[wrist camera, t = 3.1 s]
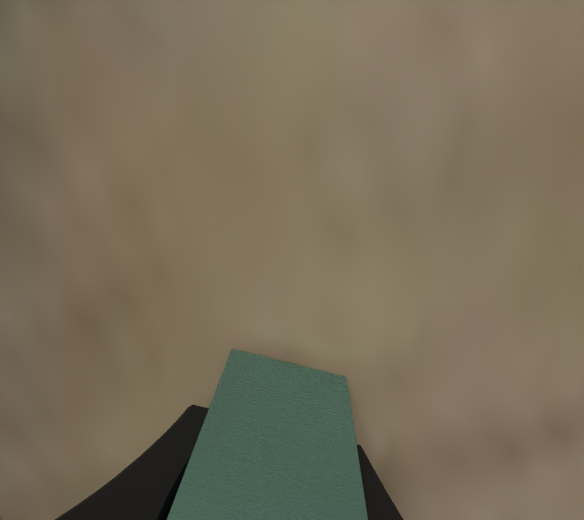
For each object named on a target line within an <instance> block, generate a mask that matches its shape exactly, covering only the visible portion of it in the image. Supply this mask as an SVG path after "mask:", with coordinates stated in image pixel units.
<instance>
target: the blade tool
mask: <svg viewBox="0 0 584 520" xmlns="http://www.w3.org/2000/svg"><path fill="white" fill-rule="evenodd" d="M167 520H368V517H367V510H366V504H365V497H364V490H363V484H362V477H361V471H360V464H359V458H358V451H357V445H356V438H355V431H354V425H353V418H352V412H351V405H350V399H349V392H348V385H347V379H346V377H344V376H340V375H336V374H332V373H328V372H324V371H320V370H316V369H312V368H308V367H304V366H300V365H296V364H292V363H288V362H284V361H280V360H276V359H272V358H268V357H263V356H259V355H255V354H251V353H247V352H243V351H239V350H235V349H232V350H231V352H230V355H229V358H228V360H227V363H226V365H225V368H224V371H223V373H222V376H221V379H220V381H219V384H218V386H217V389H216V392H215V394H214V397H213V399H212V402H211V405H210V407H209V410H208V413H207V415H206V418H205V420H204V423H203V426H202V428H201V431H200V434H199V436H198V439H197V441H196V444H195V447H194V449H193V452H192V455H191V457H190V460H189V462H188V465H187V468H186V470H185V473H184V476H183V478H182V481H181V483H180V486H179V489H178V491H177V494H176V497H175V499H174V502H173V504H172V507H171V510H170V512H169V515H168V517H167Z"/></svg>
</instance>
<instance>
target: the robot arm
mask: <svg viewBox="0 0 584 520" xmlns="http://www.w3.org/2000/svg"><path fill="white" fill-rule="evenodd" d="M208 410H209V409H208V408H204V407H200V406H196V405H192V406H190V407H188V408H187V409H186V411H185V412H184V413H183V414H182V415H181V416H180V418H179V419H178V420H177V421H176V422H175V423H174V424H173V425H172V426H171V427H170V428H169V429H168V430H167V431H166V432H165V433H164V434H163V435H162V436H161V437H160V438H159V439H158V440H157V441H156V442H155V443H154V444H153V445H152V446H151V447H150V448H149V449H147V450H146V451H145V452H144V453H143V454H142V455H141V456H140V457H139V458H137V459H136V460H135V461H134V462H133V463H131V464H130V465H129V466H128V467H127V468H125V469H124V470H123V471H122V472H121V473H119V474H118V475H117V476H116V477H115V478H113V479H112V480H111V481H109V482H108V483H107V484H106V485H104V486H103V487H102V488H100V489H99V490H98V491H96V492H95V493H94V494H92V495H91V496H89V497H88V498H87V499H85V500H84V501H82V502H81V503H79V504H78V505H77V506H75V507H74V508H72V509H71V510H69V511H67V512H66V513H64V514H63V515H61V516H60V517H58V518H57V519H55V520H167V517H168V515H169V512H170V510H171V507H172V504H173V502H174V499H175V497H176V494H177V491H178V489H179V486H180V483H181V481H182V478H183V476H184V473H185V470H186V468H187V465H188V462H189V460H190V457H191V455H192V452H193V449H194V447H195V444H196V441H197V439H198V436H199V434H200V431H201V428H202V426H203V423H204V420H205V418H206V415H207V413H208ZM356 445H357V444H356ZM357 451H358V458H359V464H360V471H361V477H362V484H363V490H364V497H365V504H366V510H367V517H368V520H403V518H402V517H401V515H400V513H399V512H398V510H397V508H396V507H395V505H394V503H393V502H392V500H391V498H390V497H389V495H388V493H387V492H386V490H385V488H384V486H383V485H382V483H381V481H380V479H379V478H378V476H377V474H376V472H375V470H374V469H373V467H372V465H371V463H370V462H369V460H368V458H367V456H366V454H365V453H364V451H363V449H362V447H361V446H360V445H357Z"/></svg>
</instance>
